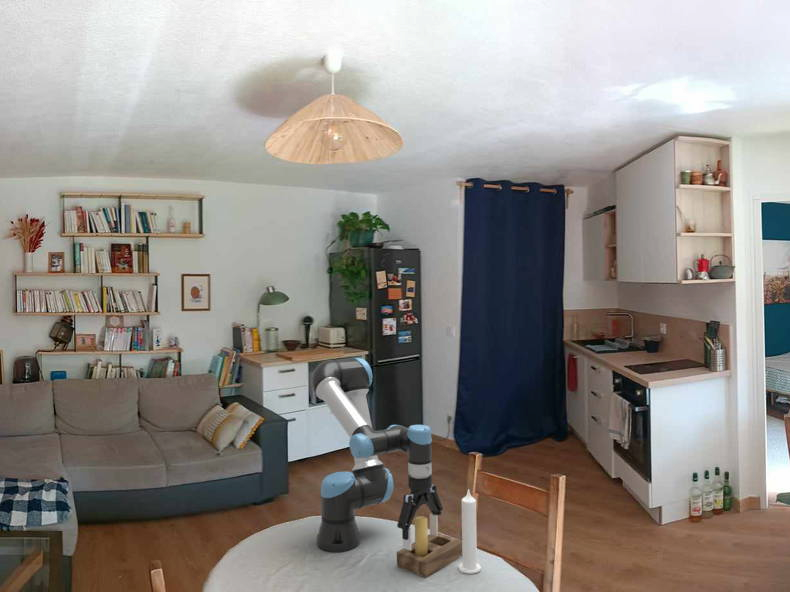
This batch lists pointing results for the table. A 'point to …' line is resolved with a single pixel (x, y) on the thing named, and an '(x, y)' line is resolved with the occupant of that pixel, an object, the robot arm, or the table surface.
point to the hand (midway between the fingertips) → (421, 541)
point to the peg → (421, 536)
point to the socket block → (431, 555)
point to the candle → (469, 536)
